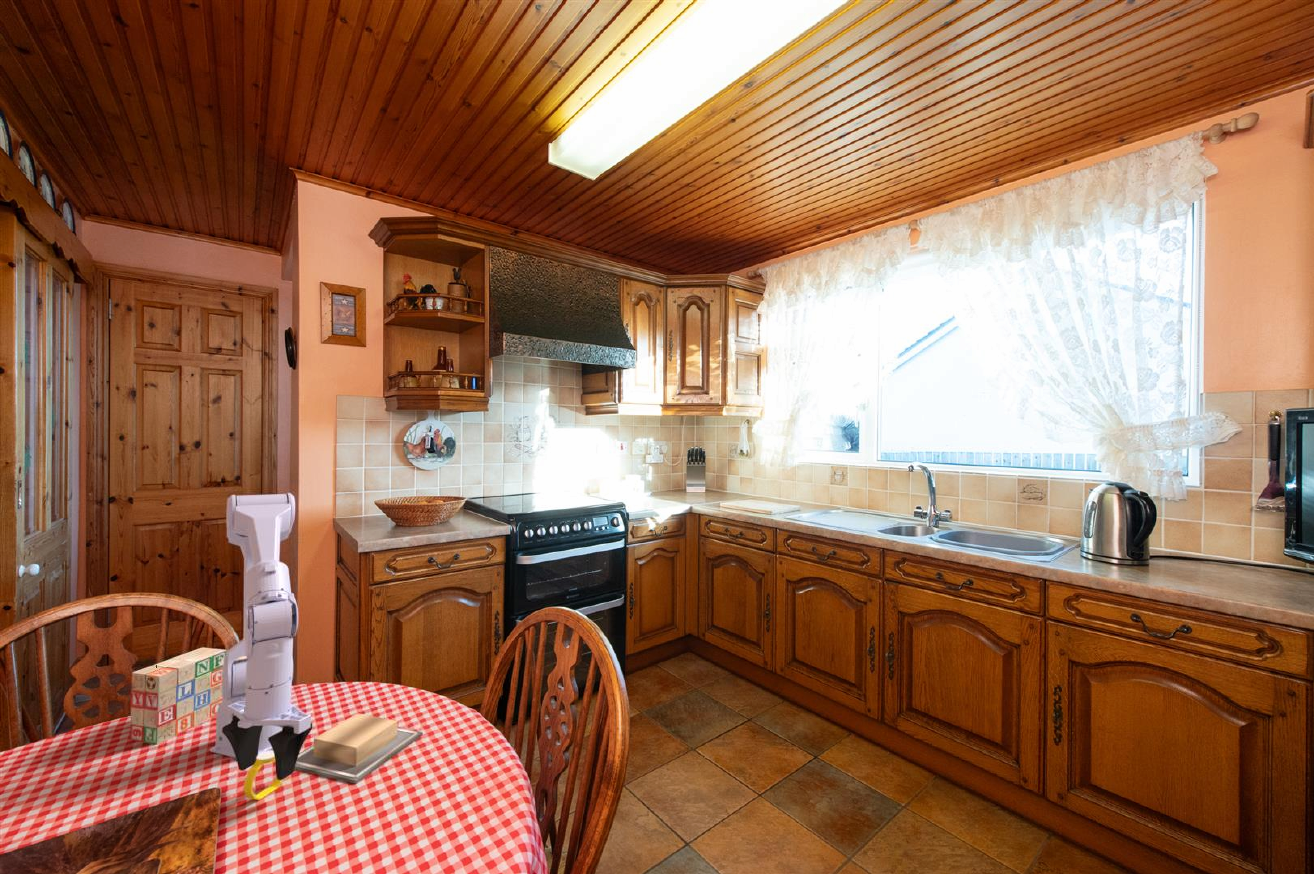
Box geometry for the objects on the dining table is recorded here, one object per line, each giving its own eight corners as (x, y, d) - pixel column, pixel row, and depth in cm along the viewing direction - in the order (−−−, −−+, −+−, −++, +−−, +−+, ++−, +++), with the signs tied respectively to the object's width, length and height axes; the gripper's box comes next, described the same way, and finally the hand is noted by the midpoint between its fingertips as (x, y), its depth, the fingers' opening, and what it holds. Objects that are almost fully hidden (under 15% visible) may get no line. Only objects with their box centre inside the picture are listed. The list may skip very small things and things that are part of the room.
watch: (275, 782, 85) (279, 743, 85) (289, 785, 84) (293, 746, 85) (237, 804, 79) (242, 761, 79) (252, 807, 78) (256, 764, 79)
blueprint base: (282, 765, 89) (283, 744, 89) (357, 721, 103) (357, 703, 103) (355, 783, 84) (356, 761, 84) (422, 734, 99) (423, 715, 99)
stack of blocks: (244, 688, 116) (246, 631, 116) (268, 691, 115) (270, 633, 115) (128, 741, 95) (130, 671, 95) (156, 745, 94) (158, 675, 94)
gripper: (206, 685, 80) (203, 777, 80) (280, 699, 76) (277, 796, 76) (253, 667, 87) (251, 752, 87) (324, 679, 83) (321, 768, 83)
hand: (266, 771), depth 82 cm, fingers open, 7 cm apart
